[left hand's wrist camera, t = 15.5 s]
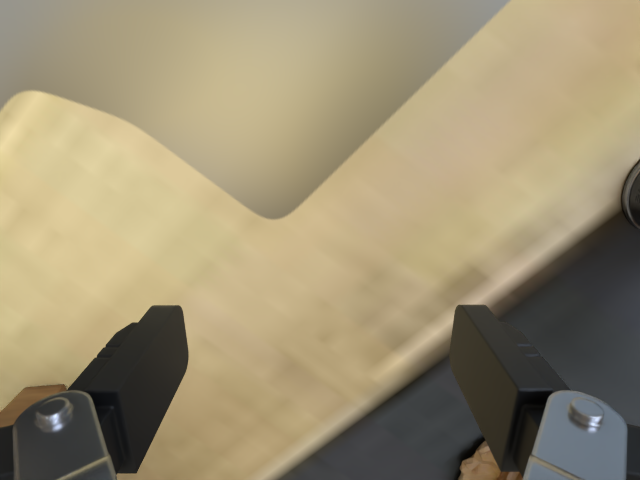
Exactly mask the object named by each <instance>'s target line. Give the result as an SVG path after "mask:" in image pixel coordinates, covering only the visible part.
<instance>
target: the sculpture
mask: <svg viewBox="0 0 640 480" xmlns="http://www.w3.org/2000/svg"><path fill="white" fill-rule="evenodd" d="M460 470H461V475H460V477H459V478H458V480H523V477H522V476H521V474H520V472H501V471H500V469H499V467H498V465H497V463H496V461H495V459H494V457H493V455H492V453H491V451H490V449H489V446H488V444H487V442H486V441H484V442H483V443H482V444H481V445H480V446H479V447H478V448H477V449H476V452H475V454H473V456H472V457H470V458H467V459H465V460H463V461H462V463H461V466H460Z"/></svg>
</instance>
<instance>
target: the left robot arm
mask: <svg viewBox="0 0 640 480" xmlns="http://www.w3.org/2000/svg"><path fill="white" fill-rule="evenodd" d="M622 206H623V211H624V214H625V216H626V218H627V219H628V221H629V222H630V223H631V224H632V225H633V226H634V227H636V228H637V229H639V230H640V162H639V163H638V164H637V165H636V166H635V167H634V169H633V170H632V172H631V173H630V175H629V177H628V179H627V181H626V183H625V186H624V189H623V194H622ZM450 364H451V368H452V371H453V374H454V376H455V378H456V380H457V382H458V384H459V386H460V388H461V390H462V392H463V395H464V397H465V399H466V401H467V403H468V405H469V407H470V409H471V411H472V413H473V415H474V417H475V419H476V422H477V424H478V426H479V428H480V430H481V432H482V434H483V436H484V438H485V440H486V442H487V444H488V446H489V449H490V451H491V453H492V455H493V457H494V459H495V461H496V463H497V465H498V467H499V469H500V471H501V472H520V474H521V476H522V477H523V480H640V427H638V426H634V425H629V424H626V423H625V421H624V419H623V418H622V417H621V415H620V414H619V413H618V412H617V411H616V410H614V409H613V408H612V407H611V406H609V405H608V404H606V403H605V402H603V401H601V400H599V399H597V398H595V397H593V396H590V395H588V394H585V393H581V392H577V391H571V390H570V389H569V388H568V386H567V385H566V384H565V383H564V382H563V381H562V379H561V378H560V377H559V376H558V375H557V373H556V372H555V371H554V370H553V369H552V368H551V366H550V365H549V364H548V363H547V362H546V361H545V359H544V358H543V357H540V354H539V352H538V351H537V350H536V349H535V348H534V347H532V344H531V343H530V342H529V341H528V340H527V338H526V337H525V336H524V335H523V334H522V332H520V331H519V330H517V329H515V328H514V327H512V326H511V325H509V324H508V323H506V322H499V321H498V320H497V318H496V317H495V316H494V315H493V313H492V312H491V311H490V310H489V308H488V307H487V306H486V305H458V306H457V307H456V310H455V315H454V322H453V330H452V337H451V345H450ZM187 365H188V345H187V338H186V331H185V323H184V316H183V311H182V308H181V307H180V306H179V305H154V306H151V307H150V309H149V310H148V311H147V312H146V314H145V315H144V316H143V317H142V319H141V320H140V321H139V322H138V323H131V324H130V325H128V326H126V327H125V328H123V329H122V330H120V331H119V332H117V333H116V334H115V335H114V336H113V337H112V338H111V340H110V341H109V342H108V343H107V344H106V347H105V348H103V349H102V350H101V351H100V352H99V354H98V355H97V358H94V359H93V361H92V362H91V363H90V364H89V365H88V366H87V368H86V369H85V370H84V371H83V372H82V373H81V374H80V376H79V377H78V378H77V379H76V380H75V381H74V383H73V384H72V385H71V386H70V387H69V388H68V390H67V391H63V392H59V393H55V394H52V395H50V396H47V397H45V398H43V399H41V400H39V401H37V402H35V403H34V404H32V405H31V406H29V407H28V408H27V409H26V410H24V411H23V412H22V413H21V414H20V415H19V417H18V418H17V419H16V421H15V423H14V424H13V425H9V426H5V427H0V480H117V476H116V475H117V473H137V471H138V469H139V467H140V465H141V463H142V461H143V459H144V457H145V455H146V453H147V450H148V448H149V446H150V444H151V442H152V440H153V438H154V436H155V434H156V432H157V430H158V428H159V426H160V424H161V422H162V420H163V418H164V416H165V413H166V411H167V409H168V407H169V405H170V403H171V401H172V399H173V397H174V395H175V393H176V391H177V389H178V387H179V385H180V383H181V381H182V379H183V377H184V374H185V372H186V369H187Z"/></svg>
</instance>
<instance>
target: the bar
mask: <svg viewBox="0 0 640 480" xmlns="http://www.w3.org/2000/svg"><path fill="white" fill-rule="evenodd" d="M63 391H67V390H66V388H65V385H64V384H63V385H51V386H38V387H26V388H24V389H23V390H22V391H21V392H20V393H19V394H18V395H17V396H16V397H15V398H14V399H13V400H12V401H11V402H10V403H9V404H8V405H7V406H6V407H5V408H4V409H3V410H2V411H1V412H0V427H5V426H9V425H13V424H14V423H15V421H16V419H17V418H18V417H19V415H20V414H21V413H22V412H23V411H24V410H26V409H27V408H28V407H29V406H31V405H32V404H34V403H35V402H37V401H39V400H41V399H43V398H45V397H47V396H50V395H52V394H55V393H59V392H63Z"/></svg>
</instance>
